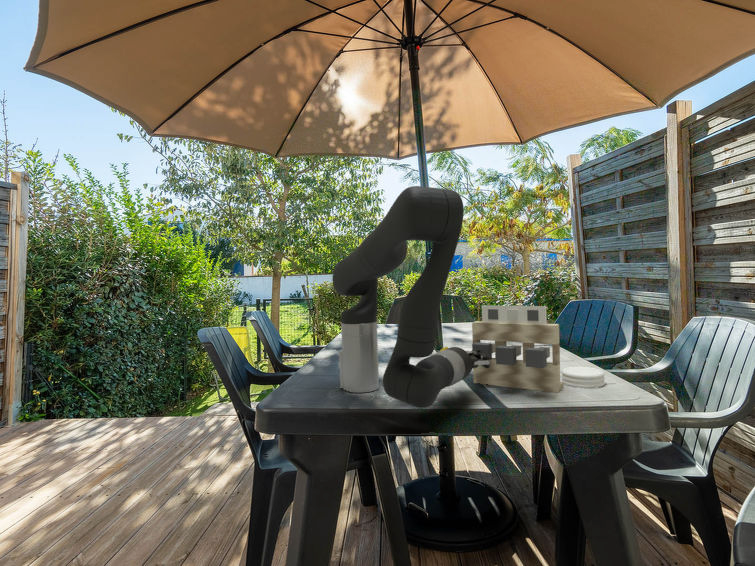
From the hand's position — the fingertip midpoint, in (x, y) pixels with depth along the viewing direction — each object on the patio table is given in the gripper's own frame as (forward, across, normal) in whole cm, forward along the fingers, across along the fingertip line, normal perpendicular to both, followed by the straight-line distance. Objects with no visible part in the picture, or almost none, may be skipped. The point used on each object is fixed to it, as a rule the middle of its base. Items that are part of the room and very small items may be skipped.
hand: (477, 353), depth 113 cm
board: (+8, -7, +9) cm, 14 cm away
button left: (+6, 0, +2) cm, 7 cm away
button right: (+4, -14, +2) cm, 15 cm away
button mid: (+4, -7, +2) cm, 8 cm away
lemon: (+11, +14, +9) cm, 20 cm away
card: (+6, -7, -7) cm, 12 cm away
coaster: (+17, -21, +9) cm, 29 cm away
